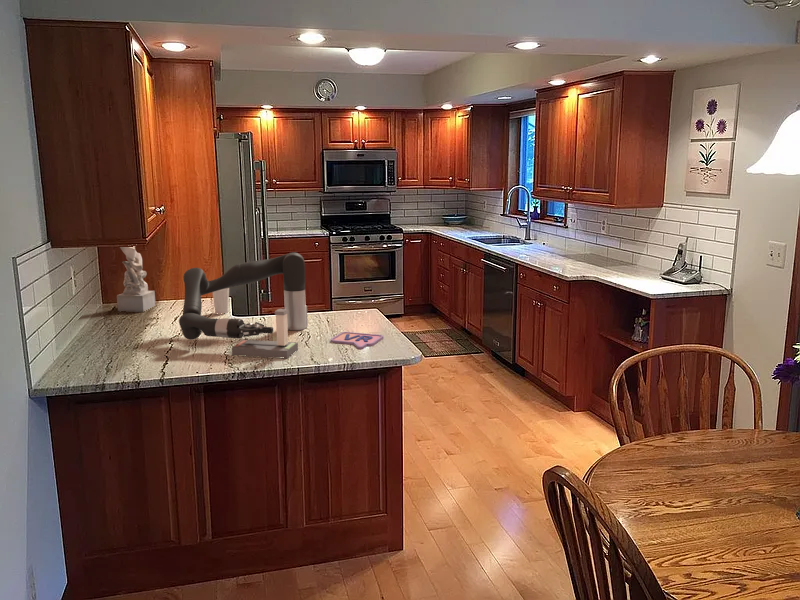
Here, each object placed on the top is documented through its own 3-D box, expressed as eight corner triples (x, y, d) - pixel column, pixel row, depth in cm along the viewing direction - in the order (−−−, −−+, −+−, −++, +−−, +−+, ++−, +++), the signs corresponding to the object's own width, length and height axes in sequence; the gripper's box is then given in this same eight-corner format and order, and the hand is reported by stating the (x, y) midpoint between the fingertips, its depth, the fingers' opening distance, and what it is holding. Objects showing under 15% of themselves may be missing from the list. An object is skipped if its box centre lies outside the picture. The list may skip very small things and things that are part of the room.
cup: (232, 311, 328) (231, 287, 325) (226, 315, 320) (225, 290, 318) (216, 311, 329) (215, 287, 326) (210, 314, 321) (209, 290, 318)
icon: (323, 343, 267) (343, 331, 286) (323, 346, 267) (343, 334, 286) (367, 347, 261) (385, 335, 280) (367, 351, 261) (385, 338, 280)
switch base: (244, 346, 265) (244, 338, 264) (297, 349, 261) (297, 341, 260) (232, 355, 253) (231, 346, 252) (287, 358, 249) (287, 350, 248)
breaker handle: (280, 342, 257) (279, 308, 255) (289, 342, 257) (288, 309, 254) (275, 345, 253) (274, 311, 250) (284, 345, 252) (283, 311, 250)
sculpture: (155, 306, 339) (150, 237, 332) (143, 312, 326) (138, 240, 319) (130, 305, 340) (125, 237, 333) (117, 311, 327) (111, 240, 320)
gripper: (237, 333, 264) (279, 335, 261) (222, 342, 252) (266, 344, 248) (236, 314, 263) (278, 316, 260) (221, 323, 250) (265, 325, 247)
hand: (272, 330), depth 254 cm, fingers closed
